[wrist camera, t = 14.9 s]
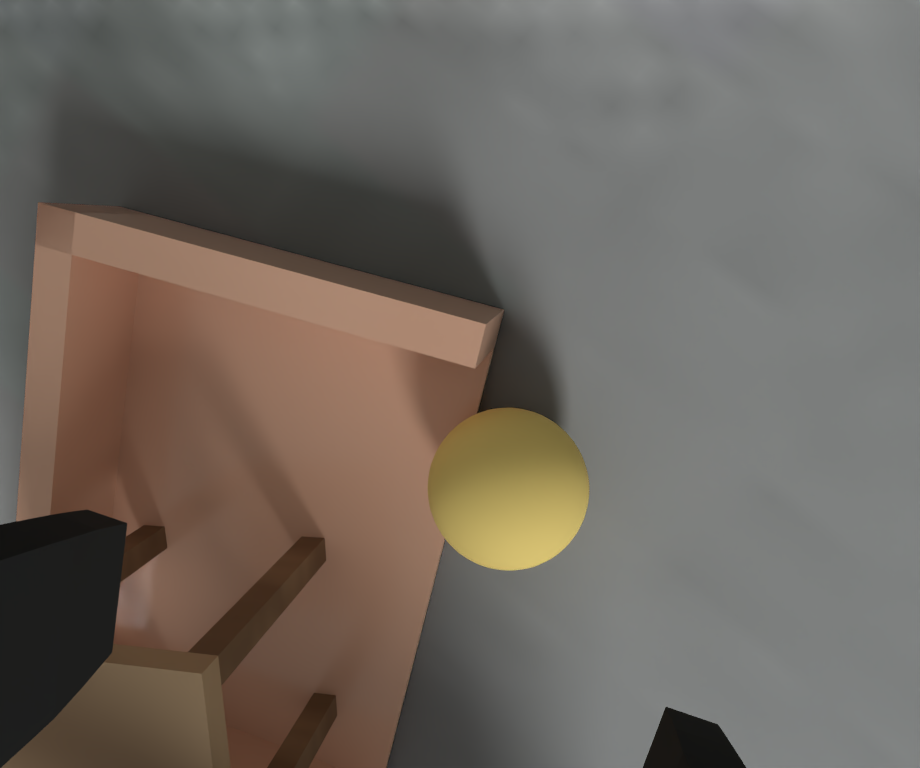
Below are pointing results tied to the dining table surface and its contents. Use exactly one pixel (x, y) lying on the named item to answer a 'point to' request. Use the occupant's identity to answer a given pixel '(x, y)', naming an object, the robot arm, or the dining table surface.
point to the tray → (251, 450)
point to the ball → (508, 488)
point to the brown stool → (180, 685)
